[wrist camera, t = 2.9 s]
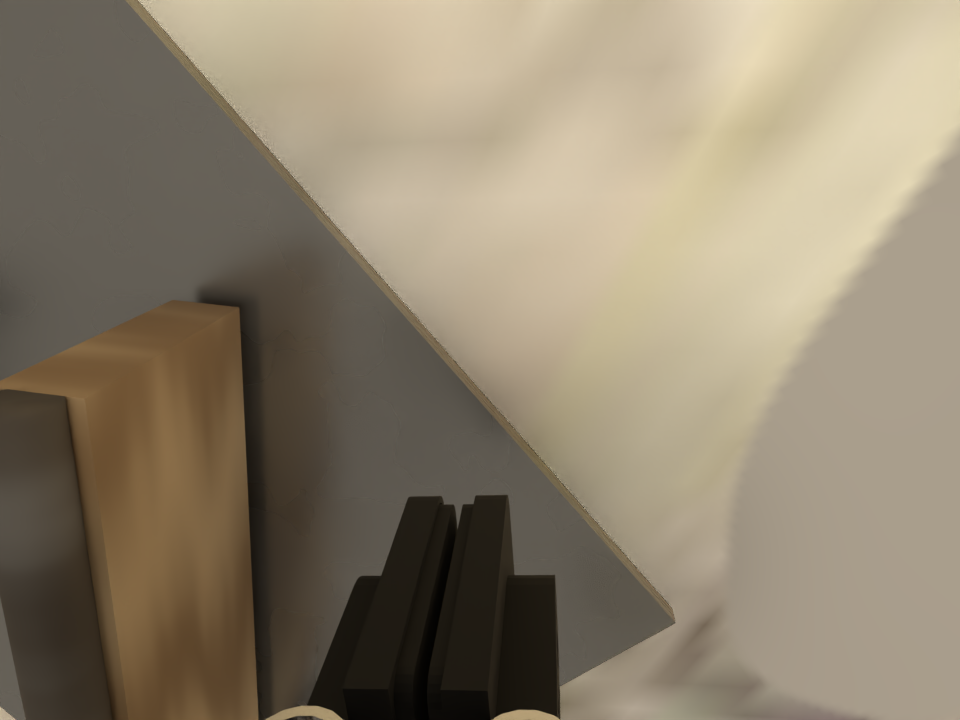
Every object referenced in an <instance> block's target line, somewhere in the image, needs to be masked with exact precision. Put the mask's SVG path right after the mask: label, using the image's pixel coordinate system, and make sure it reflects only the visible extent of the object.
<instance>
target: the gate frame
mask: <svg viewBox="0 0 960 720" xmlns="http://www.w3.org/2000/svg"><path fill="white" fill-rule="evenodd" d="M171 300H178V301H187V302H196V303H205V304H214V305H223V306H232V307H239V313H240V334H241V356H242V377H243V399H244V420H245V441H246V463H247V484H248V506H249V527H250V549H251V570H252V591H253V613H254V634H255V656H256V677H257V698H258V720H265V719H267V718H269V717H271V716H273V715H275V714H277V713H279V712H281V711H283V710H286V709H290V708H294V707H298V706H307V704H308V701H309V699H310V696H311V694H312V691H313V689H314V686H315V684H316V681H317V678H318V676H319V673H320V671H321V668H322V666H323V663H324V661H325V658H326V656H327V653H328V650H329V648H330V645H331V643H332V640H333V638H334V635H335V633H336V630H337V628H338V625H339V622H340V620H341V617H342V615H343V612H344V610H345V607H346V605H347V602H348V600H349V597H350V594H351V592H352V589H353V587H354V584H355V583H356V581H357V579H358V578H359V577H360V576H381V575H382V572H383V569H384V566H385V563H386V560H387V557H388V554H389V551H390V549H391V546H392V543H393V540H394V537H395V534H396V531H397V528H398V525H399V522H400V519H401V517H402V514H403V511H404V508H405V505H406V502H407V500H408V498H409V497H410V496H442V498H443V501H444V505H446V504H454V506H455V511H456V519H457V528H458V525H459V520H460V515H461V510H462V506H463V504H474V499H475V496H476V495H508V498H509V506H510V520H511V533H512V547H513V560H514V574H515V575H555V579H556V598H557V620H558V647H559V684H560V686H561V685H563V684H565V683H567V682H569V681H570V680H572V679H574V678H576V677H578V676H580V675H581V674H583V673H585V672H587V671H589V670H591V669H592V668H594V667H596V666H598V665H600V664H602V663H603V662H605V661H607V660H609V659H611V658H612V657H614V656H616V655H618V654H620V653H622V652H623V651H625V650H627V649H629V648H631V647H633V646H634V645H636V644H638V643H640V642H642V641H643V640H645V639H647V638H649V637H651V636H653V635H654V634H656V633H658V632H660V631H662V630H664V629H665V628H667V627H669V626H671V625H673V624H674V623H675V618H674V614H673V610H672V608H671V607H670V606H669V605H668V603H667V602H666V601H665V600H664V599H663V598H662V597H661V595H660V594H659V593H658V592H657V591H656V590H655V589H654V588H653V586H652V585H651V584H650V583H649V582H648V581H647V580H646V578H645V577H644V576H643V575H642V574H641V573H640V572H639V570H638V569H637V568H636V567H635V566H634V565H633V564H632V563H631V561H630V560H629V559H628V558H627V557H626V556H625V555H624V553H623V552H622V551H621V550H620V549H619V548H618V547H617V545H616V544H615V543H614V542H613V541H612V540H611V539H610V538H609V536H608V535H607V534H606V533H605V532H604V531H603V530H602V528H601V527H600V526H599V525H598V524H597V523H596V522H595V520H594V519H593V518H592V517H591V516H590V515H589V514H588V512H587V511H586V510H585V509H584V508H583V507H582V506H581V505H580V503H579V502H578V501H577V500H576V499H575V498H574V497H573V495H572V494H571V493H570V492H569V491H568V490H567V489H566V487H565V486H564V485H563V484H562V483H561V482H560V481H559V480H558V478H557V477H556V476H555V475H554V474H553V473H552V472H551V470H550V469H549V468H548V467H547V466H546V465H545V464H544V462H543V461H542V460H541V459H540V458H539V457H538V456H537V455H536V453H535V452H534V451H533V450H532V449H531V448H530V447H529V445H528V444H527V443H526V442H525V441H524V440H523V439H522V437H521V436H520V435H519V434H518V433H517V432H516V431H515V430H514V428H513V427H512V426H511V425H510V424H509V423H508V422H507V420H506V419H505V418H504V417H503V416H502V415H501V414H500V412H499V411H498V410H497V409H496V408H495V407H494V406H493V404H492V403H491V402H490V401H489V400H488V399H487V398H486V397H485V395H484V394H483V393H482V392H481V391H480V390H479V389H478V387H477V386H476V385H475V384H474V383H473V382H472V381H471V379H470V378H469V377H468V376H467V375H466V374H465V373H464V372H463V370H462V369H461V368H460V367H459V366H458V365H457V364H456V362H455V361H454V360H453V359H452V358H451V357H450V356H449V354H448V353H447V352H446V351H445V350H444V349H443V348H442V347H441V345H440V344H439V343H438V342H437V341H436V340H435V339H434V337H433V336H432V335H431V334H430V333H429V332H428V331H427V329H426V328H425V327H424V326H423V325H422V324H421V323H420V322H419V320H418V319H417V318H416V317H415V316H414V315H413V314H412V312H411V311H410V310H409V309H408V308H407V307H406V306H405V304H404V303H403V302H402V301H401V300H400V299H399V298H398V296H397V295H396V294H395V293H394V292H393V291H392V290H391V289H390V287H389V286H388V285H387V284H386V283H385V282H384V281H383V279H382V278H381V277H380V276H379V275H378V274H377V273H376V271H375V270H374V269H373V268H372V267H371V266H370V265H369V264H368V262H367V261H366V260H365V259H364V258H363V257H362V256H361V254H360V253H359V252H358V251H357V250H356V249H355V248H354V246H353V245H352V244H351V243H350V242H349V241H348V240H347V239H346V237H345V236H344V235H343V234H342V233H341V232H340V231H339V229H338V228H337V227H336V226H335V225H334V224H333V223H332V221H331V220H330V219H329V218H328V217H327V216H326V215H325V213H324V212H323V211H322V210H321V209H320V208H319V207H318V206H317V204H316V203H315V202H314V201H313V200H312V199H311V198H310V196H309V195H308V194H307V193H306V192H305V191H304V190H303V188H302V187H301V186H300V185H299V184H298V183H297V182H296V181H295V179H294V178H293V177H292V176H291V175H290V174H289V173H288V171H287V170H286V169H285V168H284V167H283V166H282V165H281V163H280V162H279V161H278V160H277V159H276V158H275V157H274V156H273V154H272V153H271V152H270V151H269V150H268V149H267V148H266V146H265V145H264V144H263V143H262V142H261V141H260V140H259V138H258V137H257V136H256V135H255V134H254V133H253V132H252V131H251V129H250V128H249V127H248V126H247V125H246V124H245V123H244V121H243V120H242V119H241V118H240V117H239V116H238V115H237V113H236V112H235V111H234V110H233V109H232V108H231V107H230V105H229V104H228V103H227V102H226V101H225V100H224V99H223V98H222V96H221V95H220V94H219V93H218V92H217V91H216V90H215V88H214V87H213V86H212V85H211V84H210V83H209V82H208V80H207V79H206V78H205V77H204V76H203V75H202V74H201V73H200V71H199V70H198V69H197V68H196V67H195V66H194V65H193V63H192V62H191V61H190V60H189V59H188V58H187V57H186V55H185V54H184V53H183V52H182V51H181V50H180V49H179V48H178V46H177V45H176V44H175V43H174V42H173V41H172V40H171V38H170V37H169V36H168V35H167V34H166V33H165V32H164V30H163V29H162V28H161V27H160V26H159V25H158V24H157V23H156V21H155V20H154V19H153V18H152V17H151V16H150V15H149V13H148V12H147V11H146V10H145V9H144V8H143V7H142V5H141V4H140V3H139V2H138V1H137V0H0V381H1V380H3V379H5V378H7V377H10V376H12V375H14V374H16V373H18V372H20V371H22V370H24V369H27V368H29V367H31V366H33V365H35V364H37V363H39V362H41V361H44V360H46V359H48V358H50V357H52V356H54V355H56V354H58V353H61V352H63V351H65V350H67V349H69V348H71V347H73V346H75V345H78V344H80V343H82V342H84V341H86V340H88V339H90V338H92V337H95V336H97V335H99V334H101V333H103V332H105V331H107V330H109V329H112V328H114V327H116V326H118V325H120V324H122V323H124V322H126V321H129V320H131V319H133V318H135V317H137V316H139V315H141V314H143V313H146V312H148V311H150V310H152V309H154V308H156V307H158V306H160V305H163V304H165V303H167V302H169V301H171ZM0 707H2V708H3V709H4V710H5V711H7V712H8V713H9V714H10V715H11V716H13V717H14V718H15V719H16V720H26V719H25V714H24V709H23V704H22V700H21V695H20V690H19V685H18V680H17V676H16V671H15V666H14V661H13V656H12V651H11V647H10V642H9V637H8V632H7V627H6V623H5V618H4V613H3V608H2V603H1V599H0Z"/></svg>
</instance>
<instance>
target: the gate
mask: <svg viewBox="0 0 960 720" xmlns="http://www.w3.org/2000/svg"><path fill="white" fill-rule="evenodd" d="M0 599H1V603H2V608H3V613H4V618H5V623H6V627H7V632H8V637H9V642H10V647H11V651H12V656H13V661H14V666H15V671H16V676H17V680H18V685H19V690H20V695H21V700H22V704H23V709H24V714H25V719H26V720H258V698H257V677H256V656H255V634H254V613H253V591H252V570H251V549H250V527H249V506H248V484H247V463H246V441H245V420H244V399H243V377H242V356H241V334H240V313H239V307H232V306H223V305H214V304H205V303H196V302H187V301H178V300H171V301H169V302H167V303H165V304H163V305H160V306H158V307H156V308H154V309H152V310H150V311H148V312H146V313H143V314H141V315H139V316H137V317H135V318H133V319H131V320H129V321H126V322H124V323H122V324H120V325H118V326H116V327H114V328H112V329H109V330H107V331H105V332H103V333H101V334H99V335H97V336H95V337H92V338H90V339H88V340H86V341H84V342H82V343H80V344H78V345H75V346H73V347H71V348H69V349H67V350H65V351H63V352H61V353H58V354H56V355H54V356H52V357H50V358H48V359H46V360H44V361H41V362H39V363H37V364H35V365H33V366H31V367H29V368H27V369H24V370H22V371H20V372H18V373H16V374H14V375H12V376H10V377H7V378H5V379H3V380H1V381H0Z"/></svg>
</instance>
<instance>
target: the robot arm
mask: <svg viewBox="0 0 960 720" xmlns="http://www.w3.org/2000/svg"><path fill="white" fill-rule="evenodd" d="M265 720H560V684H559V647H558V620H557V598H556V579H555V575H515V574H514V560H513V547H512V533H511V520H510V506H509V498H508V495H476V496H475V499H474V504H463V506H462V510H461V515H460V520H459V525H458V528H457V519H456V511H455V506H454V504H446V505H444V501H443V498H442V496H410V497H409V498H408V500H407V502H406V505H405V508H404V511H403V514H402V517H401V519H400V522H399V525H398V528H397V531H396V534H395V537H394V540H393V543H392V546H391V549H390V551H389V554H388V557H387V560H386V563H385V566H384V569H383V572H382V575H381V576H360V577H359V578H358V579H357V581H356V583H355V584H354V587H353V589H352V592H351V594H350V597H349V600H348V602H347V605H346V607H345V610H344V612H343V615H342V617H341V620H340V622H339V625H338V628H337V630H336V633H335V635H334V638H333V640H332V643H331V645H330V648H329V650H328V653H327V656H326V658H325V661H324V663H323V666H322V668H321V671H320V673H319V676H318V678H317V681H316V684H315V686H314V689H313V691H312V694H311V696H310V699H309V701H308V704H307V706H298V707H294V708H290V709H286V710H283V711H281V712H279V713H277V714H275V715H273V716H271V717H269V718H267V719H265Z"/></svg>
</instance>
